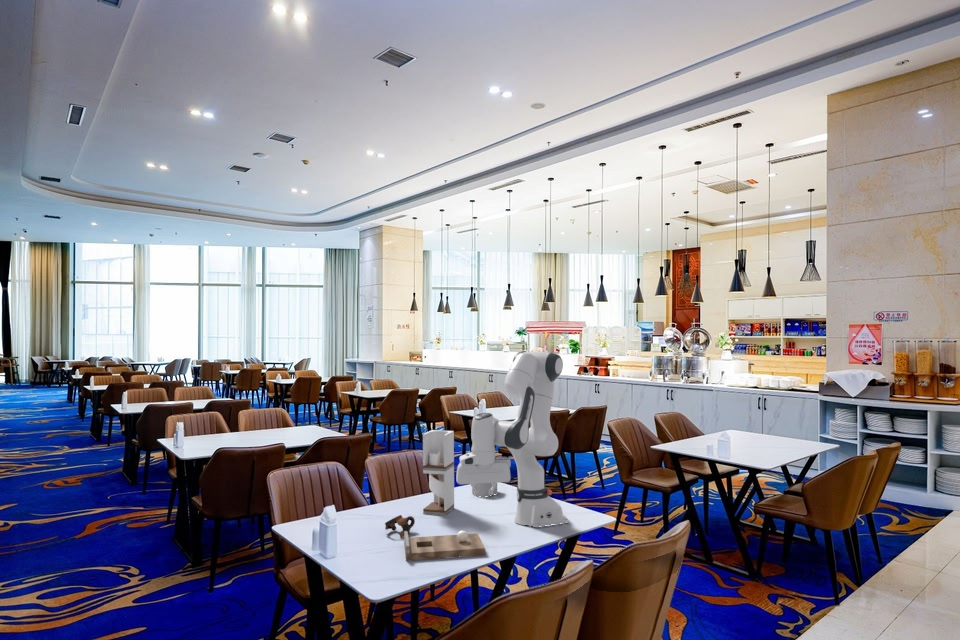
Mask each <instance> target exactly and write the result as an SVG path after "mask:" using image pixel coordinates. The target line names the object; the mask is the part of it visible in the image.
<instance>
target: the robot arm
mask: <svg viewBox="0 0 960 640" xmlns="http://www.w3.org/2000/svg"><path fill="white" fill-rule="evenodd" d="M563 364H564V363H563V359H562V357H561V355H559V354H557V353H555V352H546V351H539V350H538V351H537V350H536V351H525V350H523V351H519V352H517V353H516V354H515V355H514V357H513V359H512V363H511V365H510V367H509V369H508V371H507V373H506V376H505V379H504V384H503V385H504V388H505V390H506V392H507V393H508V395H510V396H511V397H512V398H513V399H515V400H517V401H519V407H518V411H517V414H516V418H515V420H512V421H510V420H509V421H508V420H501V419H498V418H496V417H494V415H493V414H492V413H491V412H481V413H477V414H475V415H474V416H473V418H472V421H471V433H470V436H471V437H470V438H471V442H472V444H471V448H470V449H471V452H467V453H465V454H463V455H459V459H458V460H459V463H458V465H457V466H456V474H455V476H456V478H455V479H456V481H455V482H456V483H457V484H458V485H470V486H471V489H472V488H473V490H474V497H478V490H475V488H474V487H475V484H480V483H491V484H492V487H491V489H489V495H493V490H494V489H495V487H496V483H497V484H498V483H510V481H511V479H512V478H511V477H512V476H511V469H510V468H511V466H512V465H511V458H509V457H507V456H496V448H495V447H496V446H498V447H504V448H505V447H506V448H507V449H508V450H509V452H510V453H511V455H512V457H513V459H514V462H515V464H516V469H517V470H516V471H517V487H516V500H517V505H516V513H515V516H514V522H515V523H516V524H517V525H518V524H519V525H521V526H525V525H529V526H528V527H531V526H533V527H532V528H534V527H539V526H545V525H551V524H560V523H566V522H568V523H569V518H568V517H567V516H566V515H565V514H563V513H564V512H563V509H562V506H561V504H559V502H557V501H556V500H555V499H554V498H552V497H551V495H552V494H553V491H552V490H551V489H549V488H548V487H546V486H545V469H544V467H543V466H542V465H541V464H540V463H539V462H538V460H537V458H536V456H537V457H550V456H551V457H552V456H554V455H555V453H556V452H557V451H558V449H559V439H558V435H556V433H555V432H554V430H553V429H552V425H551V420H550V418H551V417H550V416H551V409H552V404H553V400H554V399H553V398H554V393H555V391H554V390H555V381H556V379H557V378H558V377H560V375H561V373H562V372H563V368H564V365H563Z"/></svg>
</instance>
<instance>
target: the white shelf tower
mask: <svg viewBox="0 0 960 640" xmlns="http://www.w3.org/2000/svg"><path fill="white" fill-rule="evenodd" d="M454 432H455V431H454V430H437V429H436V430H435V429H431V430H429V431H427V432H424V433H423V434H422V474H429V475H428V478H429V479H428V480H429V481H428V487H429V490H430V492H431V493H433V501H431V502H430V503H429V504H428V505H426V506H425V507H423V509H422V514H423V515H432V514H434V516H435V515H437V516H445V515H446V516H447V515H449V514H450V511H451V510H452V509H453V508H454V509H455V450H454V449H455V433H454ZM454 509H453V510H454ZM453 510H452V511H453ZM452 511H451V512H452Z"/></svg>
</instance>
